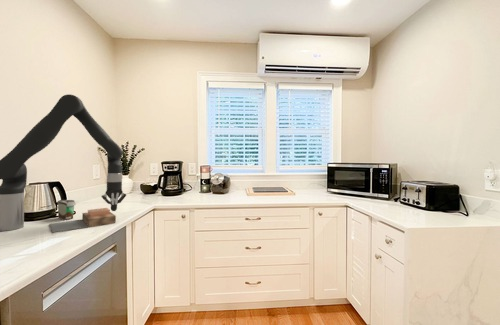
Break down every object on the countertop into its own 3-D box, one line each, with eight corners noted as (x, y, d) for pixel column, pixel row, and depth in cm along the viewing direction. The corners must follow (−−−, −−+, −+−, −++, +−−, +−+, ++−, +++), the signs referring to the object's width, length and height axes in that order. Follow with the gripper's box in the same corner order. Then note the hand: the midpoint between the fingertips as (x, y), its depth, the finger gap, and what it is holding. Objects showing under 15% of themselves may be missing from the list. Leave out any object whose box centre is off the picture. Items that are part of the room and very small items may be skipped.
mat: (52, 233, 106) (52, 232, 106) (49, 224, 118) (49, 223, 118) (87, 227, 115) (87, 226, 115) (81, 220, 128) (81, 219, 128)
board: (89, 227, 116) (89, 219, 115) (82, 220, 128) (82, 213, 128) (115, 222, 124) (115, 215, 124) (106, 216, 137) (106, 210, 137)
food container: (79, 218, 131) (79, 201, 131) (66, 221, 126) (67, 202, 126) (69, 215, 137) (70, 199, 137) (57, 217, 132) (57, 200, 132)
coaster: (90, 216, 120) (90, 212, 120) (87, 214, 125) (87, 209, 125) (109, 214, 127) (109, 209, 127) (106, 212, 132) (106, 207, 132)
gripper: (102, 182, 124) (102, 213, 124) (128, 180, 133) (128, 210, 133) (99, 180, 129) (98, 211, 129) (124, 179, 139) (124, 208, 139)
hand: (113, 210), depth 131 cm, fingers closed
